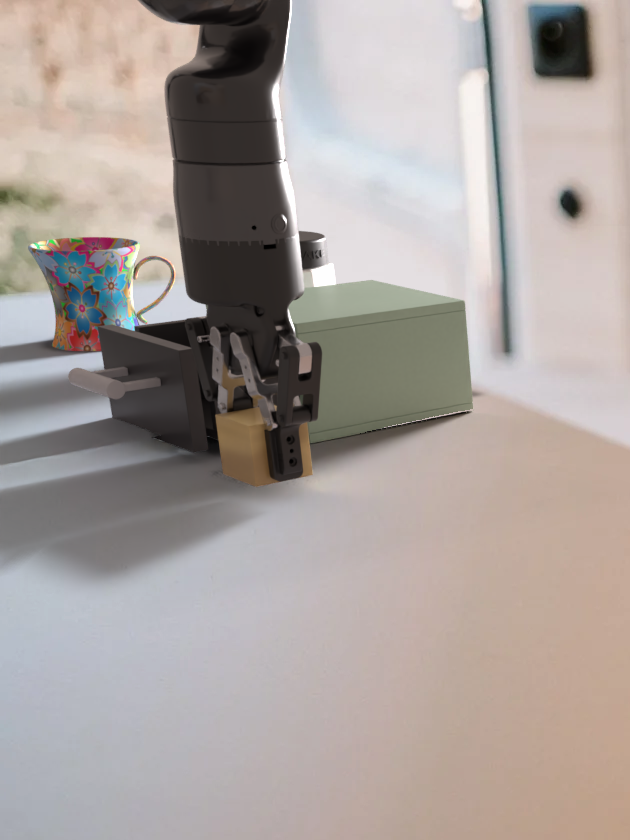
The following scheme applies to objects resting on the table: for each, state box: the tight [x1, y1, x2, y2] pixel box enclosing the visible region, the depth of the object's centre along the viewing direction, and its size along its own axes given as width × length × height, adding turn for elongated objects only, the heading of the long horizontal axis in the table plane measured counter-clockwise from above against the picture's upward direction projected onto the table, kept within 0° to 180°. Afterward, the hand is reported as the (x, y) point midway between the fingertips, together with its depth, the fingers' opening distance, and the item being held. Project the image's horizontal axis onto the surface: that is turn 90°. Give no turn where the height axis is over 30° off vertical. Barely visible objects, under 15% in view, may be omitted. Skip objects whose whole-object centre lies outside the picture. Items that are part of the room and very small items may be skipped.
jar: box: [298, 230, 337, 288], centre depth 152 cm, size 9×8×12 cm
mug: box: [27, 236, 176, 352], centre depth 153 cm, size 12×9×11 cm
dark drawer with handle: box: [67, 318, 301, 454], centre depth 128 cm, size 19×12×8 cm, turn 142°
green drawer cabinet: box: [205, 279, 474, 444], centre depth 136 cm, size 16×14×10 cm
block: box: [215, 405, 314, 488], centre depth 115 cm, size 4×4×4 cm
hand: (267, 470), depth 116 cm, fingers closed on block, 4 cm apart
